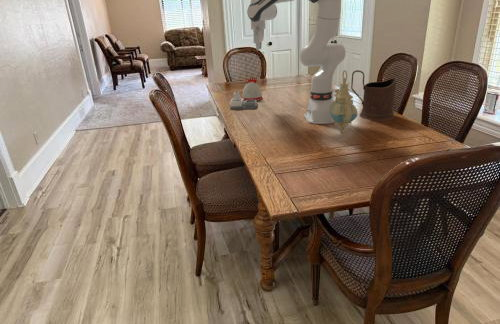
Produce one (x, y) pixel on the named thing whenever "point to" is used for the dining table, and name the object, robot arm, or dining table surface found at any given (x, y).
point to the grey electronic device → (243, 104)
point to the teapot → (343, 106)
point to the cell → (236, 96)
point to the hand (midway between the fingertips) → (259, 49)
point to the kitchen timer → (251, 90)
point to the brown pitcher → (377, 99)
